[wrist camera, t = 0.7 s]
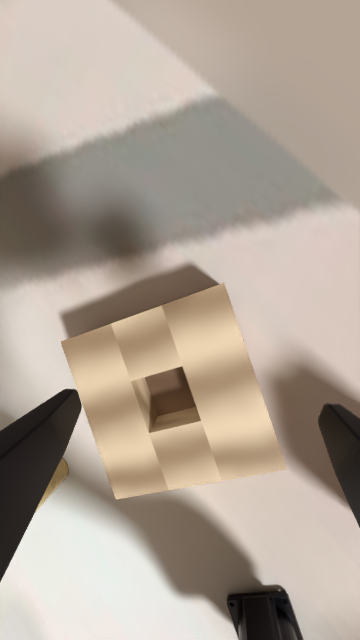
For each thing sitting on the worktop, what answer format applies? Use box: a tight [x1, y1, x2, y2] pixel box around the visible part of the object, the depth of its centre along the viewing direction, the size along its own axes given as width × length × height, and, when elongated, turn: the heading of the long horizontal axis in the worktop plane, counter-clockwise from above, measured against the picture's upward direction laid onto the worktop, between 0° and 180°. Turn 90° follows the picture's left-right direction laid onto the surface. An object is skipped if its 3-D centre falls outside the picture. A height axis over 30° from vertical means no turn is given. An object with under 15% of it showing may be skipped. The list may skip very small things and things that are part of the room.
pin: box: [35, 457, 68, 512], centre depth 22 cm, size 4×4×9 cm
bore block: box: [61, 283, 287, 499], centre depth 21 cm, size 16×16×4 cm
